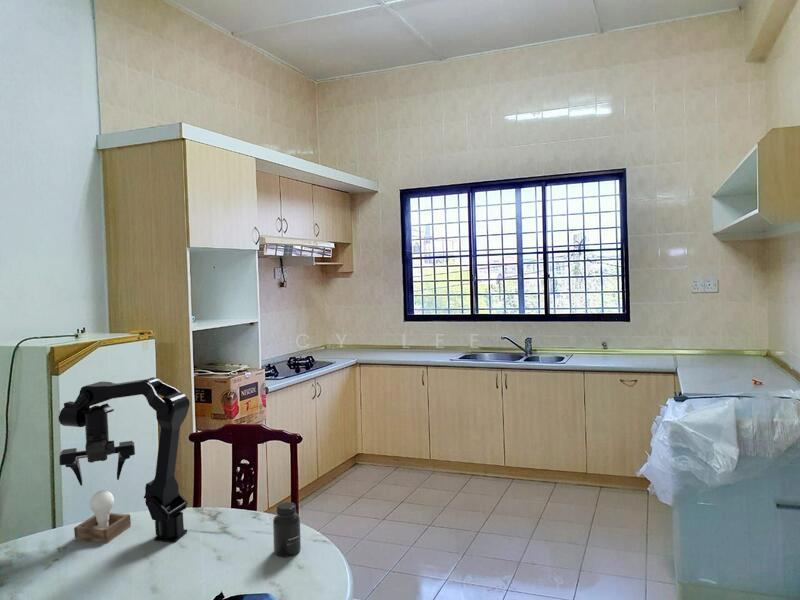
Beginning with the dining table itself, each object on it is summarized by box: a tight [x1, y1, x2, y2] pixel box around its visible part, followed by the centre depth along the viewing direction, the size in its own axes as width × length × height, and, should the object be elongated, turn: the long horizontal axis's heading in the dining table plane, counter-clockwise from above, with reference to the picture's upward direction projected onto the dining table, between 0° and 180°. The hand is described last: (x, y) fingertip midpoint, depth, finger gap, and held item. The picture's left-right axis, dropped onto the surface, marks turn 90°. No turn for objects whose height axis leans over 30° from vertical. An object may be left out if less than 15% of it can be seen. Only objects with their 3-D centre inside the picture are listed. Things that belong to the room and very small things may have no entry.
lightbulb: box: [88, 489, 115, 528], centre depth 172 cm, size 6×6×11 cm
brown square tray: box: [73, 512, 132, 544], centre depth 172 cm, size 10×10×4 cm
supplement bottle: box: [272, 501, 302, 557], centre depth 159 cm, size 7×7×12 cm
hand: (99, 482), depth 175 cm, fingers open, 9 cm apart
